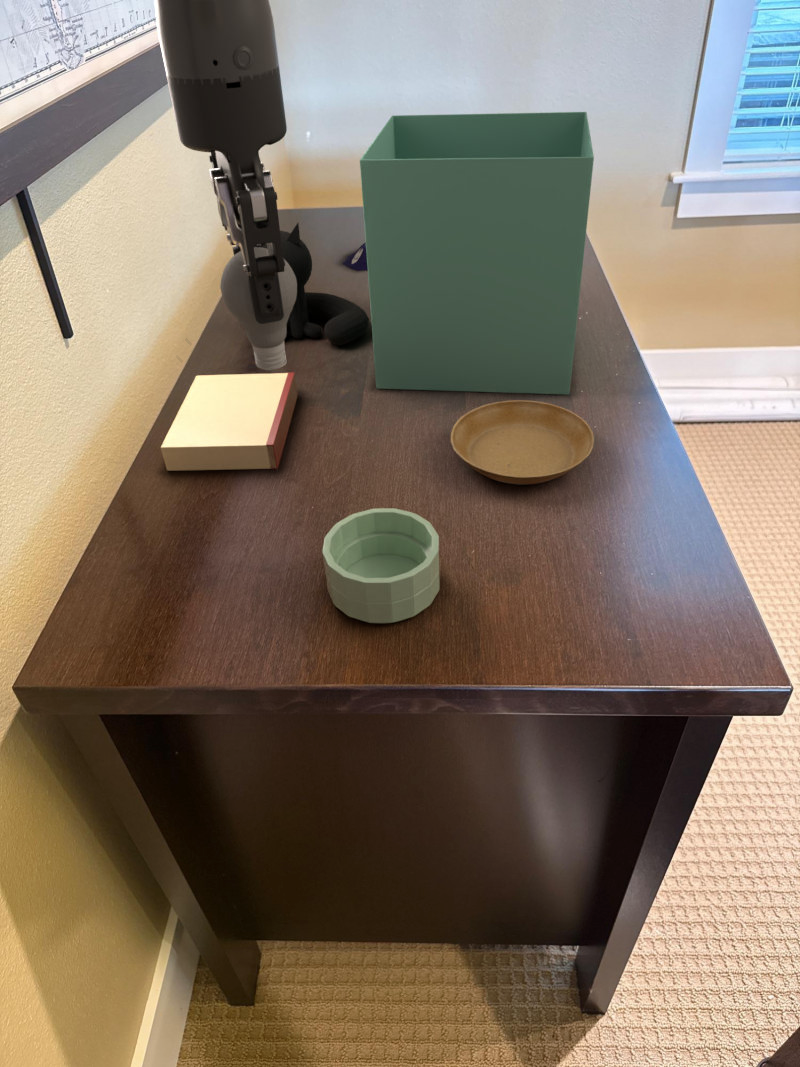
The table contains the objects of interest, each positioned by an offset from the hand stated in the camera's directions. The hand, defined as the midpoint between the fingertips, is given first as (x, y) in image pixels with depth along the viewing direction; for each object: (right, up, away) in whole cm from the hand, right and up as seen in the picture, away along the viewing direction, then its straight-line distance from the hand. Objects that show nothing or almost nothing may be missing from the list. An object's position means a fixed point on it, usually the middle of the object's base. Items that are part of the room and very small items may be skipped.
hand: (261, 304), depth 62 cm
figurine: (-1, +10, +46) cm, 48 cm away
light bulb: (0, -5, +4) cm, 6 cm away
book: (-8, -7, +26) cm, 28 cm away
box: (+21, +5, +39) cm, 45 cm away
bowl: (+10, -23, +5) cm, 26 cm away
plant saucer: (+24, -10, +20) cm, 33 cm away
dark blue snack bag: (+8, +28, +69) cm, 75 cm away
